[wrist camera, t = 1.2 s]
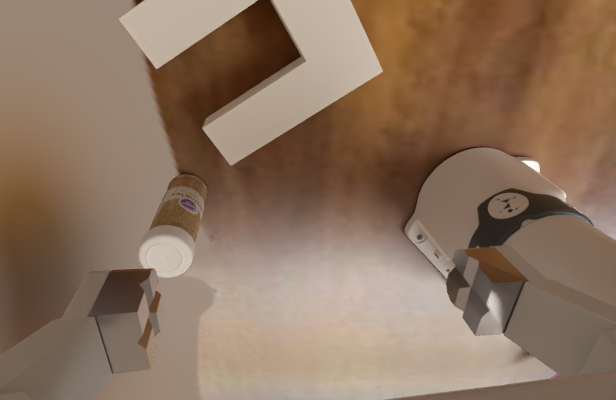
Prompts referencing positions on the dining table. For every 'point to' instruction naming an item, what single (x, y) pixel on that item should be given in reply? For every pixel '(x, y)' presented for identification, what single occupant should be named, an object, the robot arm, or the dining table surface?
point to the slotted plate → (280, 86)
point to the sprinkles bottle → (174, 228)
